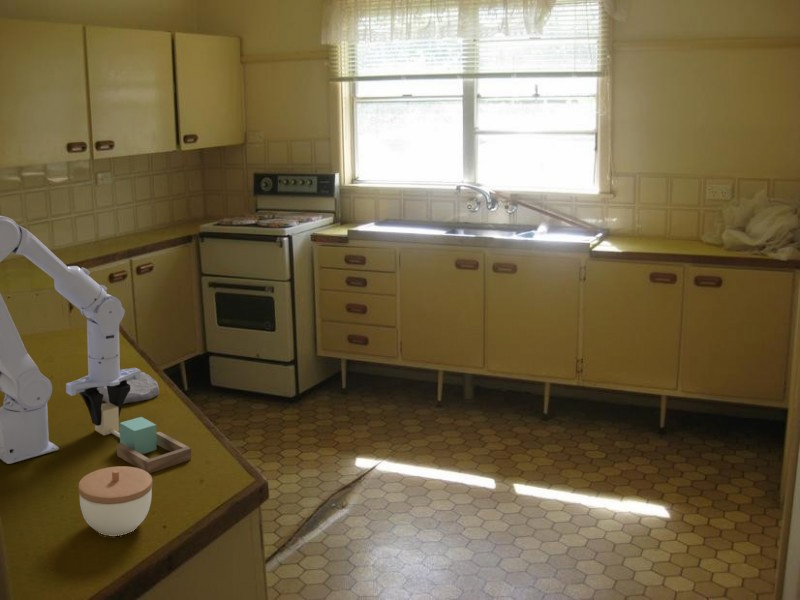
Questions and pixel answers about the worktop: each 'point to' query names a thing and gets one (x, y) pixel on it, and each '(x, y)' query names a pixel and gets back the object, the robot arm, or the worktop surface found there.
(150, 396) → the stone block
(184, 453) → the u-shaped wooden frame
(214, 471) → the worktop surface
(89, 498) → the lidded jar
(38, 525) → the worktop surface
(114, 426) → the multicoloured linked piece
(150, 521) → the worktop surface
